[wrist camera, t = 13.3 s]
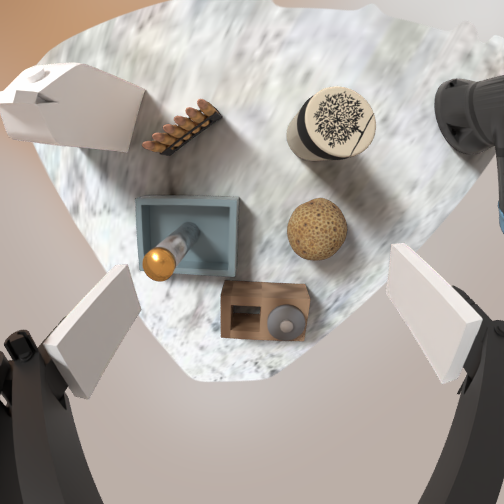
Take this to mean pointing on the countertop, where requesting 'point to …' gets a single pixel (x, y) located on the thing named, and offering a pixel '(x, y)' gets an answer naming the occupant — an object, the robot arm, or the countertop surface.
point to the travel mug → (332, 126)
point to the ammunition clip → (183, 129)
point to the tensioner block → (265, 311)
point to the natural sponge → (316, 229)
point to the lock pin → (170, 252)
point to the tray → (208, 221)
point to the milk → (71, 107)
